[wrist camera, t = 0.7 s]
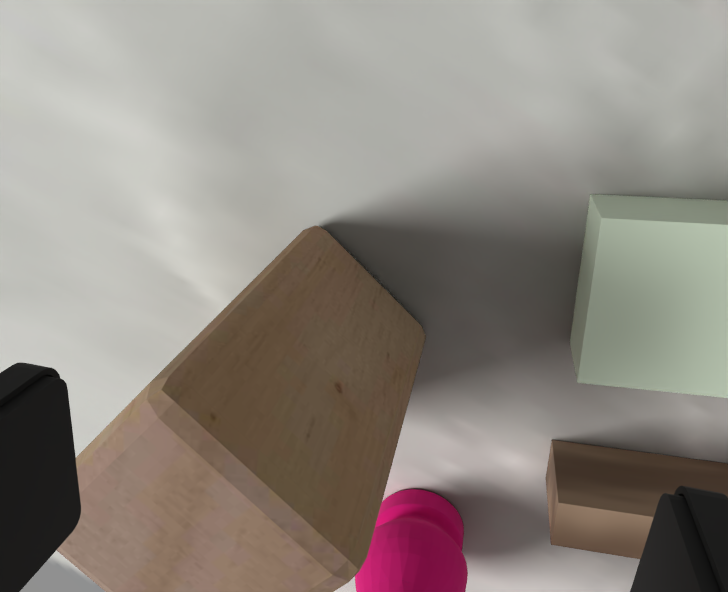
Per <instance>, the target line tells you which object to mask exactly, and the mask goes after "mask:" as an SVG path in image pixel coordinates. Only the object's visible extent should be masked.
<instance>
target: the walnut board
mask: <svg viewBox="0 0 728 592" xmlns="http://www.w3.org/2000/svg"><path fill="white" fill-rule="evenodd" d="M679 486H687V487H692V488H698V489H703V490H708V491H714V492H719V493H723V494H725V495H726V496H727V497H728V464H727V463H719V462H712V461H705V460H697V459H690V458H682V457H675V456H668V455H660V454H653V453H645V452H638V451H631V450H623V449H616V448H609V447H601V446H594V445H586V444H579V443H572V442H564V441H557V440H552V443H551V449H550V455H549V461H548V467H547V474H546V487H547V500H548V512H549V525H550V537H551V545H557V546H563V547H569V548H576V549H582V550H588V551H594V552H600V553H606V554H612V555H618V556H624V557H631V558H637V559H641V556H642V553H643V550H644V547H645V543H646V540H647V537H648V534H649V531H650V528H651V524H652V521H653V518H654V515H655V512H656V508H657V505H658V502H659V500H660V497H661V496H662V494H664V493H668V494H673V495H674V493H675V490H676V489H677V488H678V487H679Z"/></svg>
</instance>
